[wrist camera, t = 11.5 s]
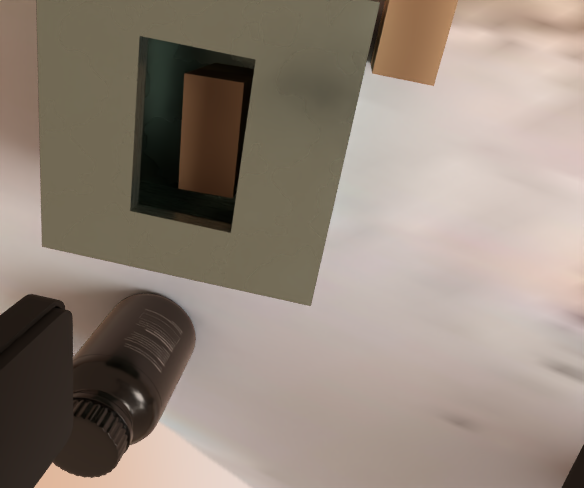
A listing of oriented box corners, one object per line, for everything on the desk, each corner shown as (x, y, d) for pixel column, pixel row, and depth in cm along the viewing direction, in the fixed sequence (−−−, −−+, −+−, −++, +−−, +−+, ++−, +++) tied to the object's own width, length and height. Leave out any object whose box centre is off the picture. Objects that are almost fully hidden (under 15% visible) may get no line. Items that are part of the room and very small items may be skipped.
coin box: (374, 5, 29) (380, 2, 20) (323, 230, 35) (310, 306, 26) (134, -42, 30) (34, -66, 21) (123, 187, 36) (42, 246, 27)
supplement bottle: (97, 301, 40) (-3, 409, 29) (177, 281, 38) (103, 387, 27) (134, 373, 42) (55, 498, 31) (211, 357, 41) (156, 482, 30)
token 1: (264, 70, 31) (243, 82, 26) (253, 168, 34) (232, 198, 28) (215, 62, 31) (184, 73, 26) (208, 160, 34) (178, 188, 28)
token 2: (452, -42, 28) (473, -56, 23) (421, 73, 31) (433, 85, 25) (397, -53, 28) (405, -69, 23) (370, 62, 31) (372, 73, 25)
